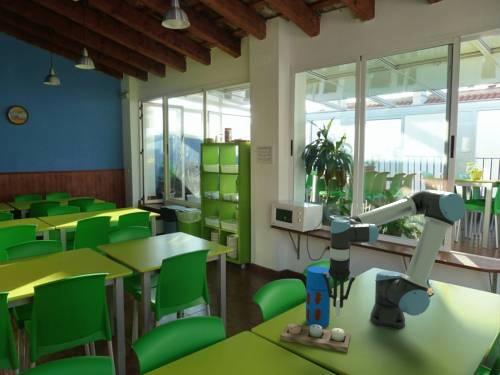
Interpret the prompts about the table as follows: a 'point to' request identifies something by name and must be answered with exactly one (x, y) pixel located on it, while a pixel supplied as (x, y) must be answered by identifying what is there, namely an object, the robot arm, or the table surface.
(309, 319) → the thermos
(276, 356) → the table surface
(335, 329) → the button one
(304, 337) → the board
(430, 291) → the frog figurine
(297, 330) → the button three
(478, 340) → the table surface
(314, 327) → the button two
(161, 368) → the table surface
